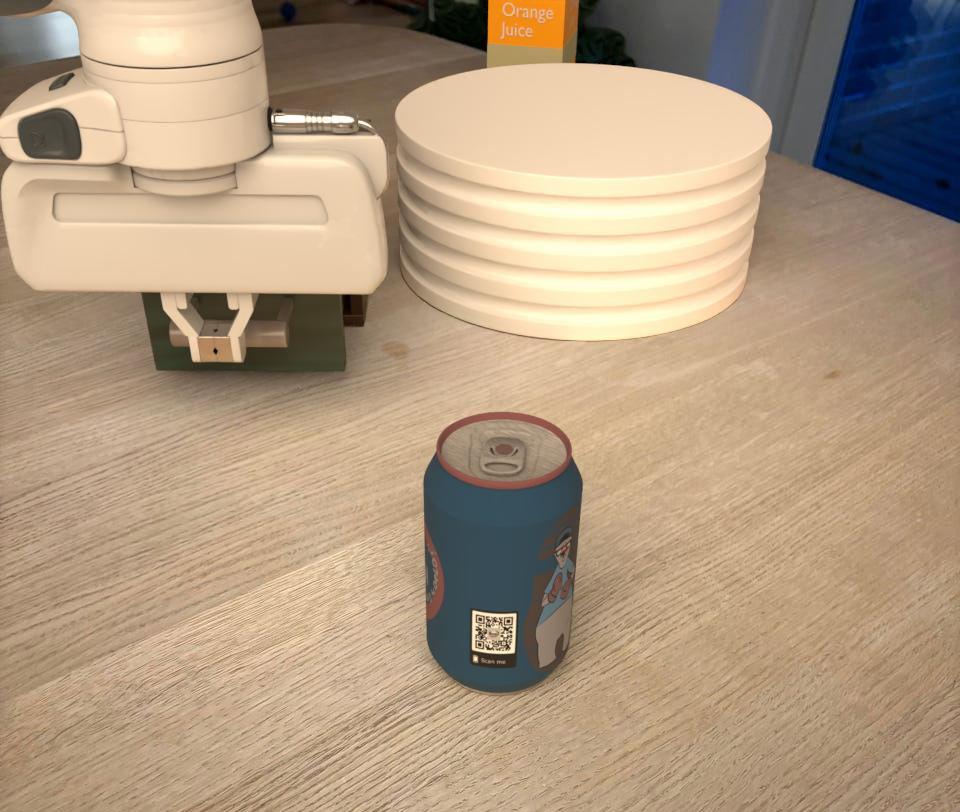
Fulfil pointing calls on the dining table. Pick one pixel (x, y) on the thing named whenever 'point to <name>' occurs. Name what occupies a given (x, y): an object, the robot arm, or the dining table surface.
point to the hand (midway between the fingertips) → (220, 358)
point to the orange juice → (531, 32)
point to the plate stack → (578, 198)
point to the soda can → (500, 550)
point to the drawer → (258, 333)
